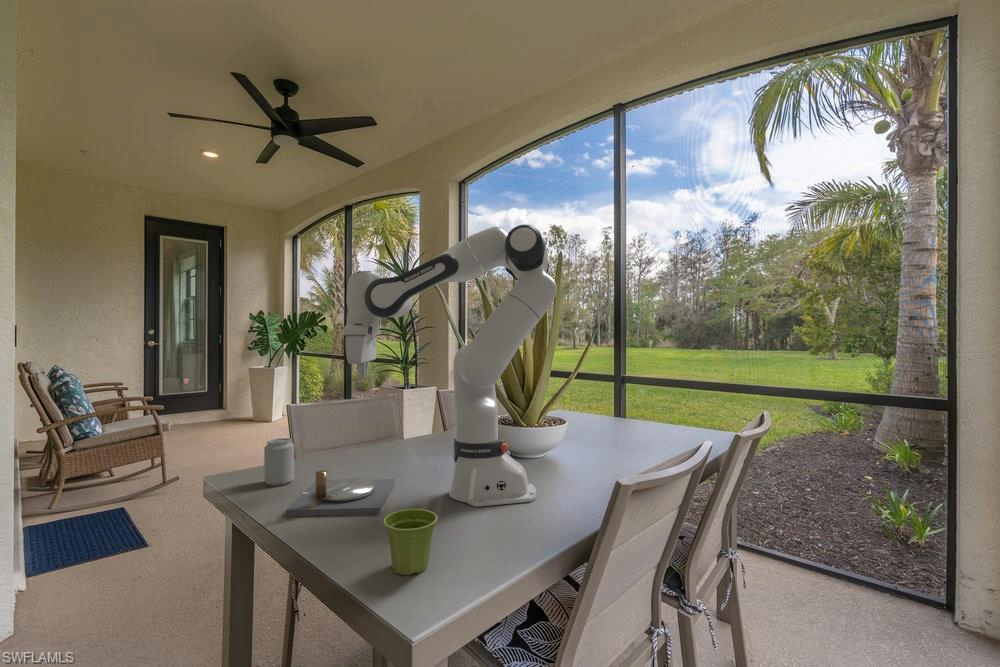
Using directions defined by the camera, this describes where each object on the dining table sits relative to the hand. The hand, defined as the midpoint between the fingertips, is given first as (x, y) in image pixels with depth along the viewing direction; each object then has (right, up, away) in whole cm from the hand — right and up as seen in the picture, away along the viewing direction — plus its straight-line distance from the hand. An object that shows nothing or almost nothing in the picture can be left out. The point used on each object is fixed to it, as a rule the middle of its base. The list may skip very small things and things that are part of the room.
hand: (362, 378), depth 130 cm
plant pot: (+23, -29, -48) cm, 61 cm away
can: (-23, -29, -1) cm, 37 cm away
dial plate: (0, -29, -14) cm, 32 cm away
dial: (-1, -27, -15) cm, 31 cm away
